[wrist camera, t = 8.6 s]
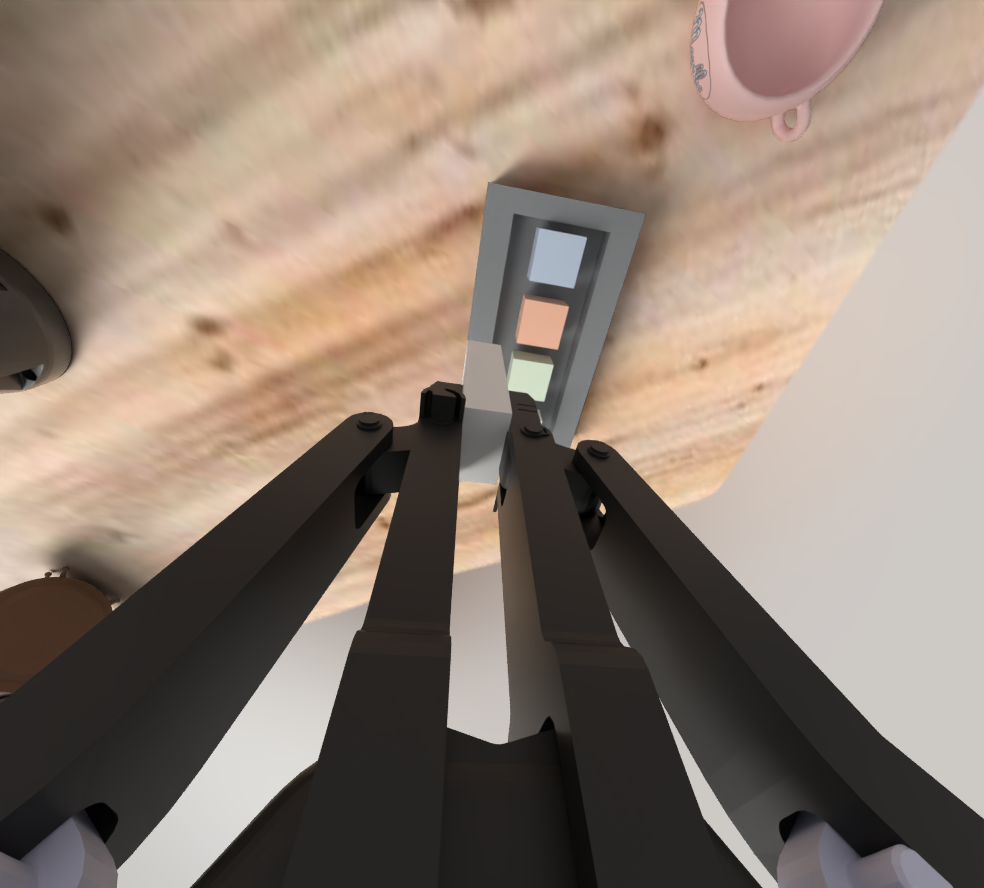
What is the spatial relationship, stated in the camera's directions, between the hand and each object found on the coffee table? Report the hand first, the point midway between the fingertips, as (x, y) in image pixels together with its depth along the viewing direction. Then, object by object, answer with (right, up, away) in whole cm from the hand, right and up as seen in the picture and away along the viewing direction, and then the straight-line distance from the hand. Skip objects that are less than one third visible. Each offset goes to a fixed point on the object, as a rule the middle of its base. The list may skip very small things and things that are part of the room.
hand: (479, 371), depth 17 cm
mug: (+19, +24, +10) cm, 32 cm away
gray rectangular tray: (+4, +7, +20) cm, 22 cm away
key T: (+5, +8, +16) cm, 19 cm away
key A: (+6, +12, +14) cm, 19 cm away
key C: (+4, +4, +19) cm, 19 cm away
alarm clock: (-61, -25, +40) cm, 77 cm away
